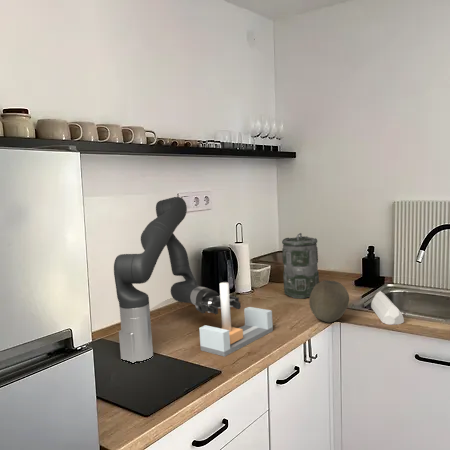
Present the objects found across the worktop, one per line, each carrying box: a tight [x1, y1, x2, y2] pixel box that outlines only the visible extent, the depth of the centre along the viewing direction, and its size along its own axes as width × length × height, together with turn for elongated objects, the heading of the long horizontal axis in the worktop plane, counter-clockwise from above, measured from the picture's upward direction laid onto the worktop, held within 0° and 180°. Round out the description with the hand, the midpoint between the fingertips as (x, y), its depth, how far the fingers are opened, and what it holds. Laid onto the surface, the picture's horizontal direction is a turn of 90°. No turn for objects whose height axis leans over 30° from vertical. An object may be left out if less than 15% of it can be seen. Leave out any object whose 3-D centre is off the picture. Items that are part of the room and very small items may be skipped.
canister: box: [281, 232, 320, 300], centre depth 210 cm, size 16×16×28 cm
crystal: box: [370, 290, 405, 326], centre depth 174 cm, size 7×7×24 cm
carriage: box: [219, 281, 243, 344], centre depth 151 cm, size 8×7×19 cm
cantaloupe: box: [309, 280, 350, 324], centre depth 171 cm, size 14×14×15 cm
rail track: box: [199, 306, 274, 358], centre depth 157 cm, size 27×10×8 cm, turn 141°
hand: (228, 308), depth 150 cm, fingers open, 8 cm apart
